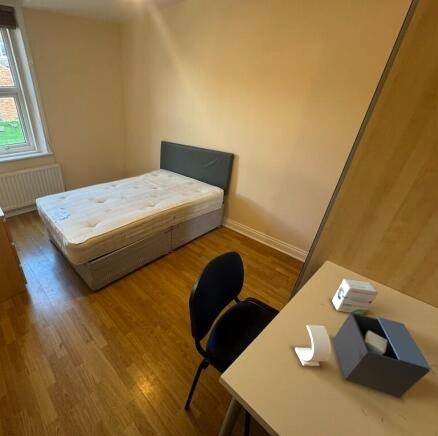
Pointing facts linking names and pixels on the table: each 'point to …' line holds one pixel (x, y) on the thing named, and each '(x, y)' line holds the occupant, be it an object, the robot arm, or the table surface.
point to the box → (375, 343)
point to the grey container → (373, 359)
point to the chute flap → (403, 343)
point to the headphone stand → (315, 347)
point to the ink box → (354, 296)
